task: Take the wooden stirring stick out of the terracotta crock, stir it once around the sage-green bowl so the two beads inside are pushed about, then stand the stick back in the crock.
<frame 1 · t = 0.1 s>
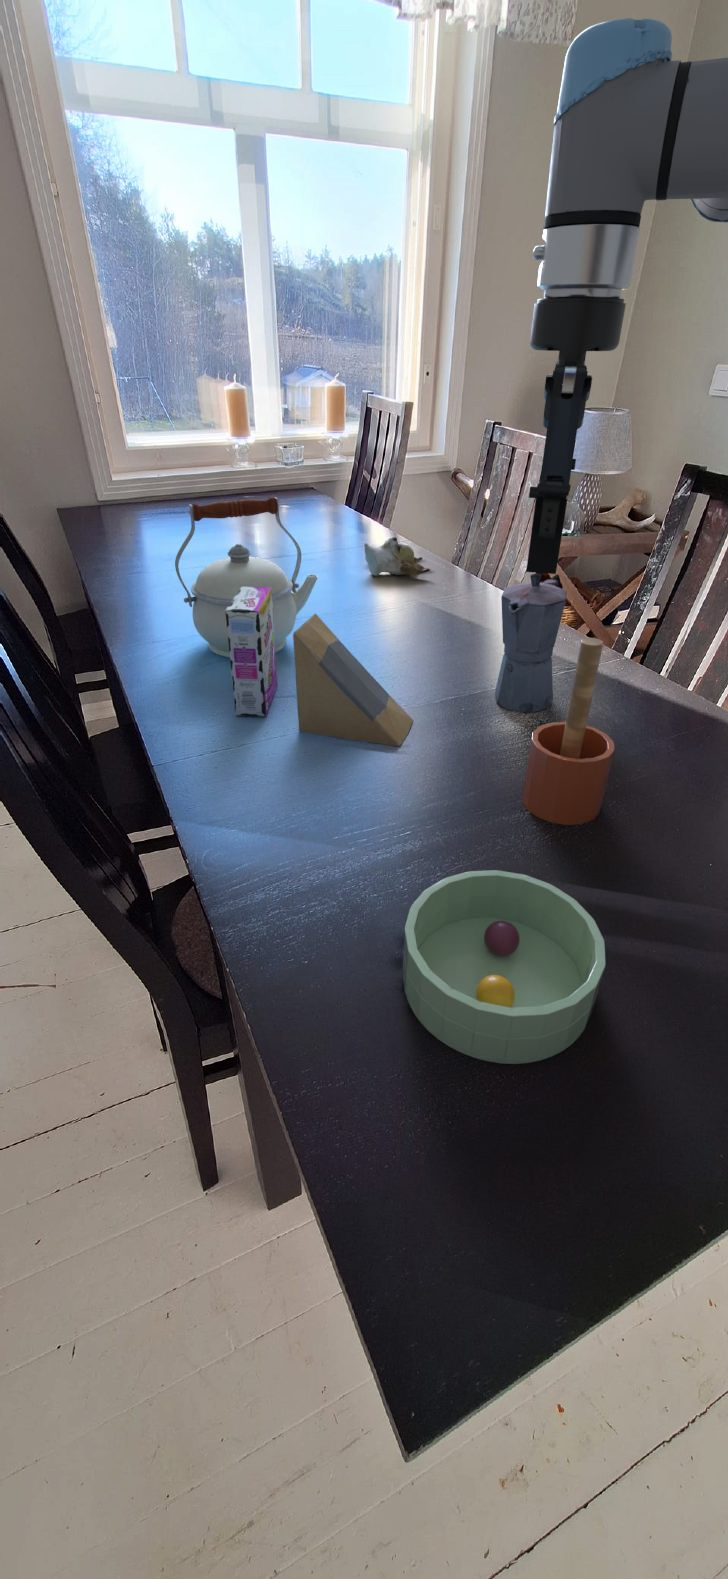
hand: (543, 553, 70), 30 cm above the table, tool pointing down, fingers open, 13 cm apart
bowl: (495, 982, 62), on the table
wooden stirring stick: (559, 807, 83), point 1 cm above the table, touching crock
ceramic sculpture: (395, 575, 163), on the table
kettle: (256, 644, 128), on the table
crock: (558, 812, 83), on the table
bead b: (501, 938, 63), point 2 cm above the table, touching bowl
moka pot: (522, 700, 109), on the table
sandwich container: (357, 727, 101), on the table
bead a: (495, 994, 58), point 2 cm above the table, touching bowl
candy bar box: (258, 702, 108), on the table
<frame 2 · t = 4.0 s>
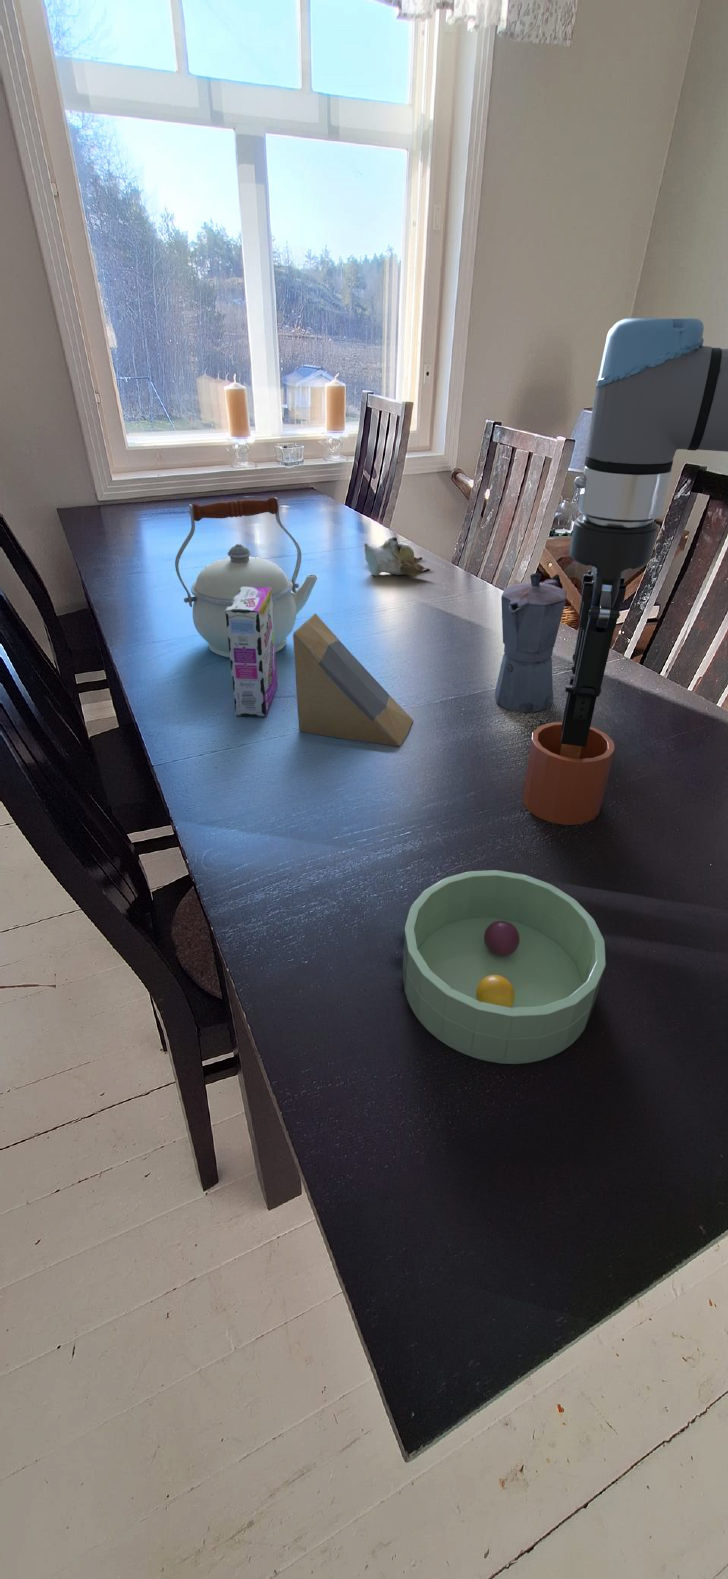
hand: (573, 737, 78), 10 cm above the table, tool pointing down, fingers closed on wooden stirring stick, 2 cm apart
wooden stirring stick: (559, 807, 83), point 1 cm above the table, touching crock, gripper
everything else where it was.
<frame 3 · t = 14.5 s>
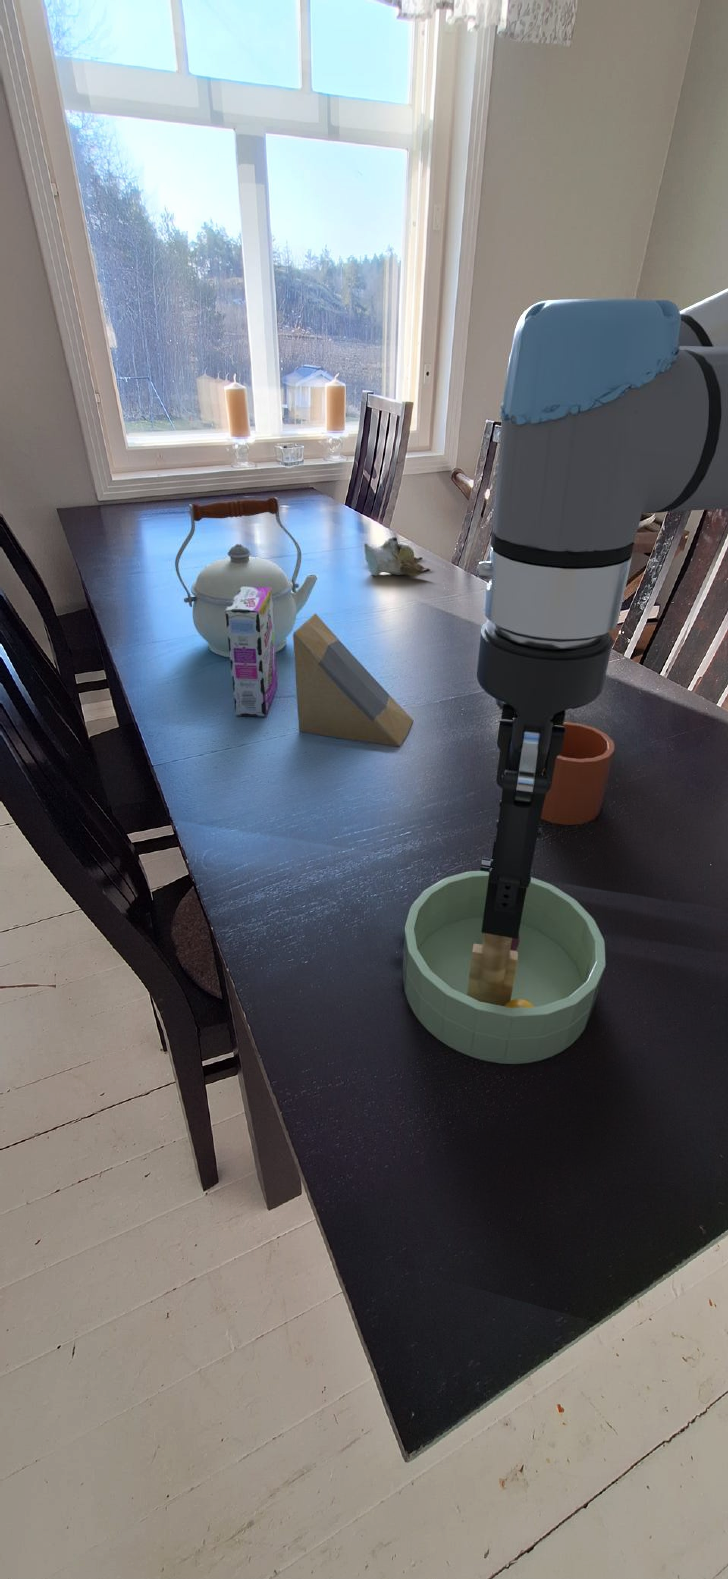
hand: (501, 918, 53), 11 cm above the table, tool pointing down, fingers closed on wooden stirring stick, 2 cm apart
wooden stirring stick: (487, 1001, 59), point 1 cm above the table, touching gripper
bead a: (519, 1019, 56), point 2 cm above the table, tilted 107°, touching bowl
everything else where it was.
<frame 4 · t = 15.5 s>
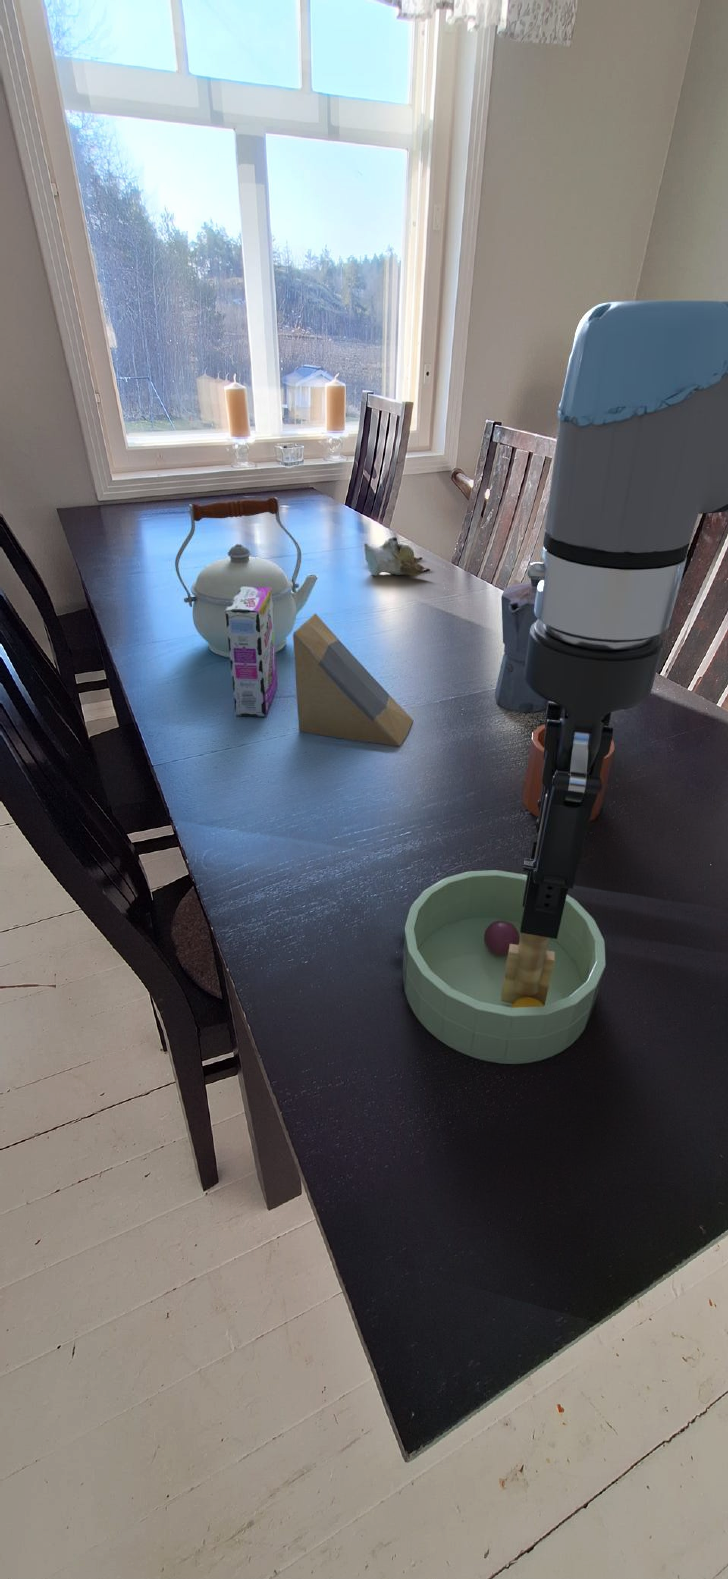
hand: (539, 918, 53), 11 cm above the table, tool pointing down, fingers closed on wooden stirring stick, 2 cm apart
wooden stirring stick: (522, 1001, 59), point 1 cm above the table, touching gripper
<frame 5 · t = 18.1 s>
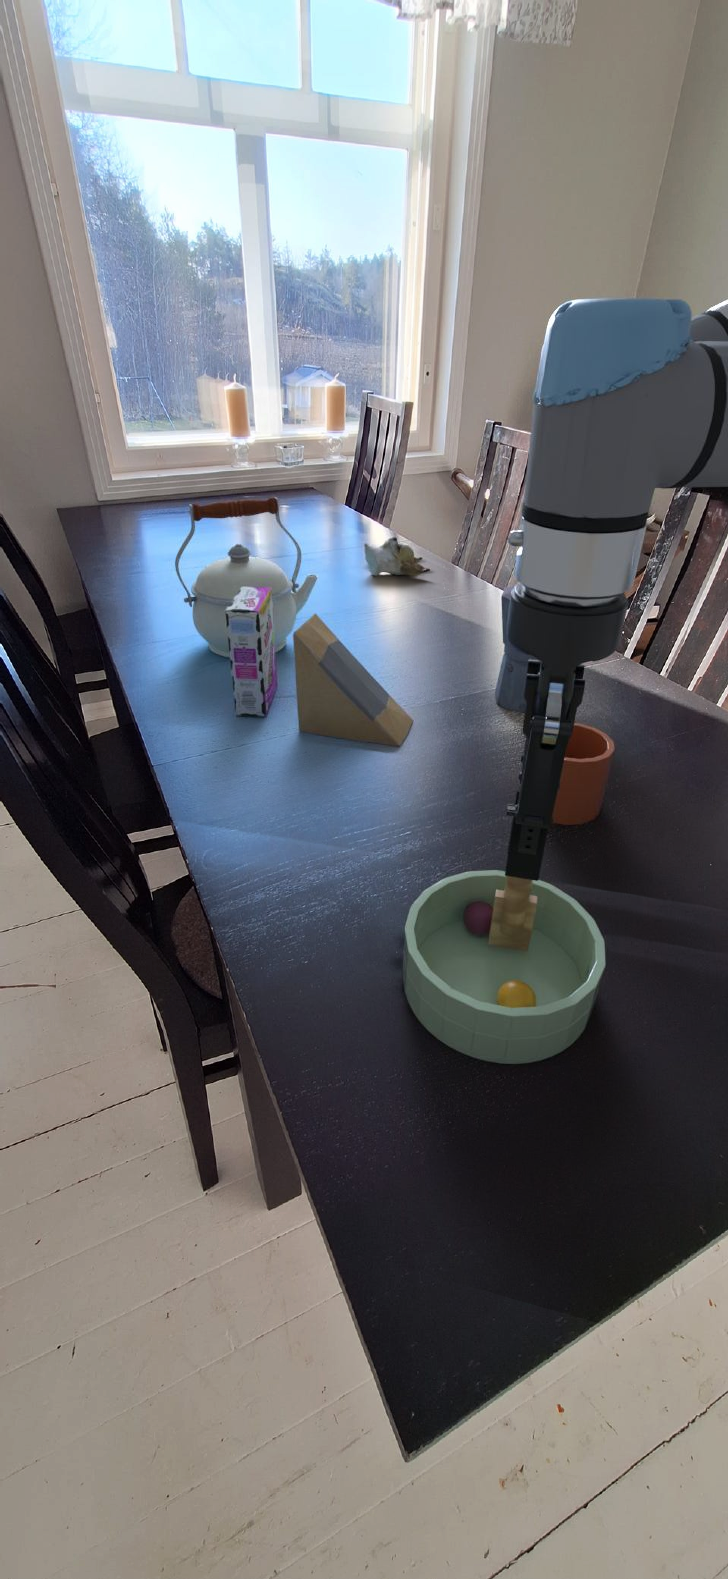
hand: (522, 864, 58), 11 cm above the table, tool pointing down, fingers closed on wooden stirring stick, 2 cm apart
wooden stirring stick: (508, 944, 64), point 1 cm above the table, touching gripper
bead b: (480, 918, 66), point 2 cm above the table, tilted 109°, touching bowl
bead a: (516, 1000, 58), point 2 cm above the table, tilted 42°, touching bowl
everything else where it was.
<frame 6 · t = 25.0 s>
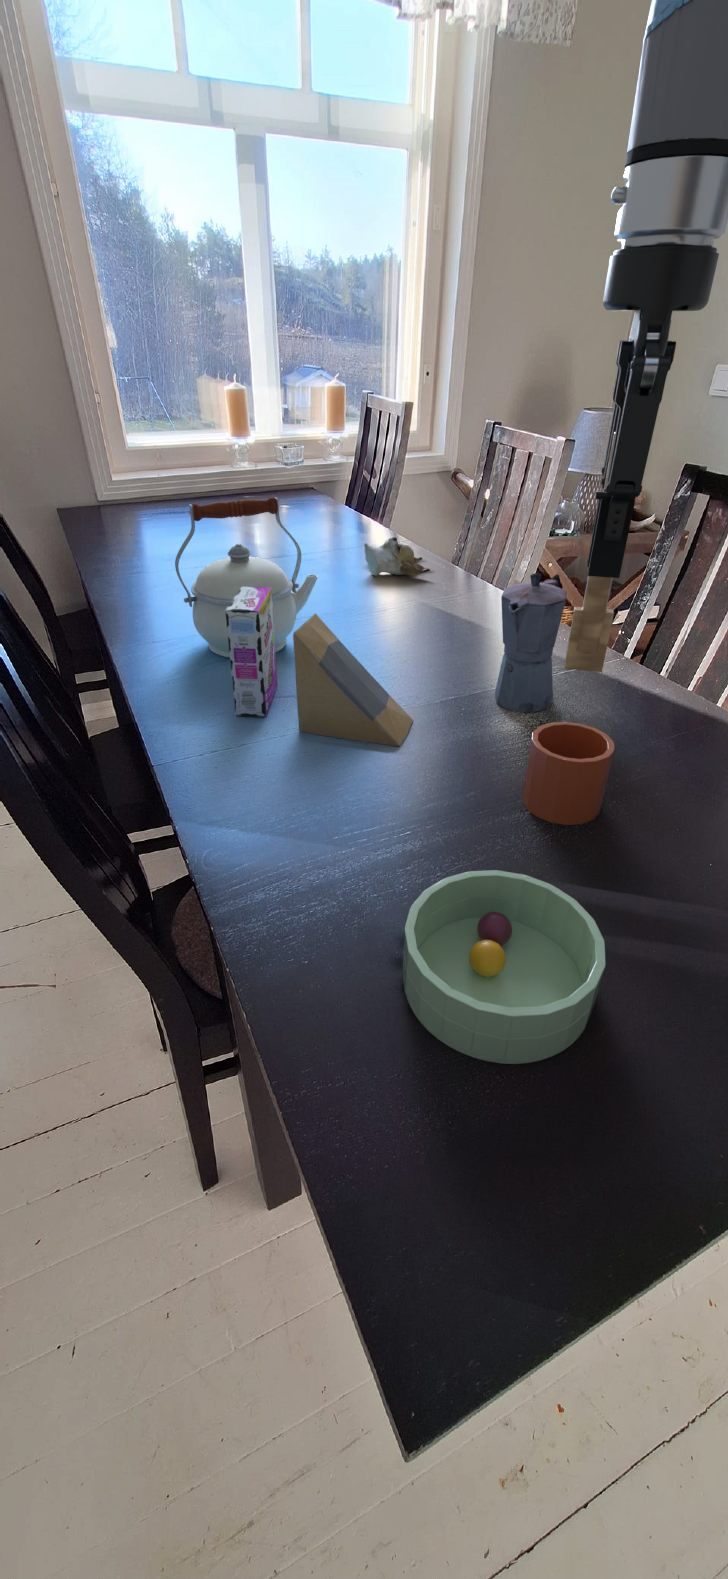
hand: (602, 570, 63), 30 cm above the table, tool pointing down, fingers closed on wooden stirring stick, 2 cm apart
wooden stirring stick: (582, 668, 69), point 21 cm above the table, touching gripper
bead b: (494, 929, 64), point 2 cm above the table, tilted 62°, touching bowl
bead a: (487, 958, 61), point 2 cm above the table, tilted 135°, touching bowl
everything else where it was.
when the fingers open (10 cm above the table, at t = 30.9 s): wooden stirring stick stays where it is, resting on crock.
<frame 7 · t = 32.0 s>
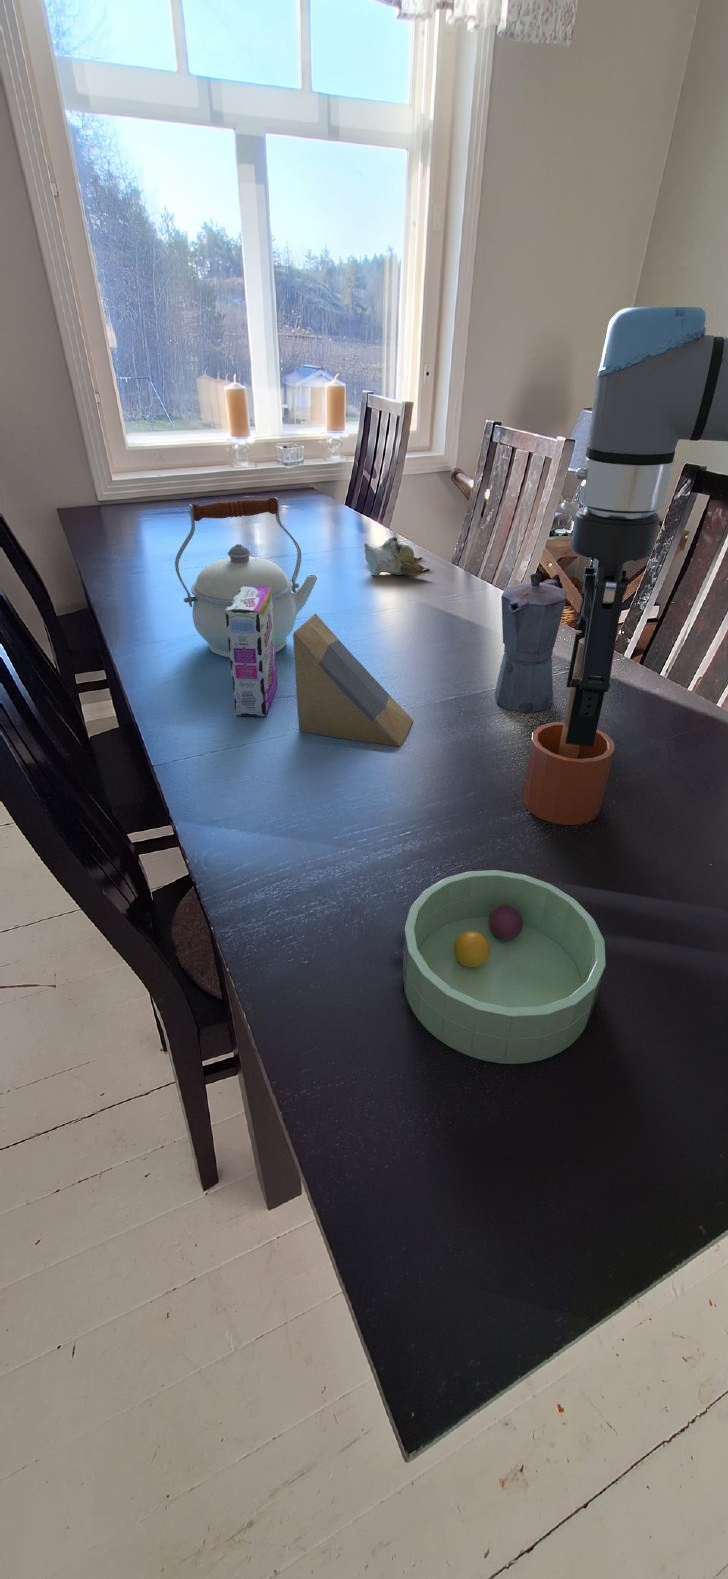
hand: (578, 713, 76), 13 cm above the table, tool pointing down, fingers open, 13 cm apart
wooden stirring stick: (557, 807, 83), point 1 cm above the table, touching crock
bead b: (505, 923, 65), point 2 cm above the table, tilted 100°, touching bowl
bead a: (471, 949, 62), point 2 cm above the table, tilted 164°, touching bowl
everything else where it was.
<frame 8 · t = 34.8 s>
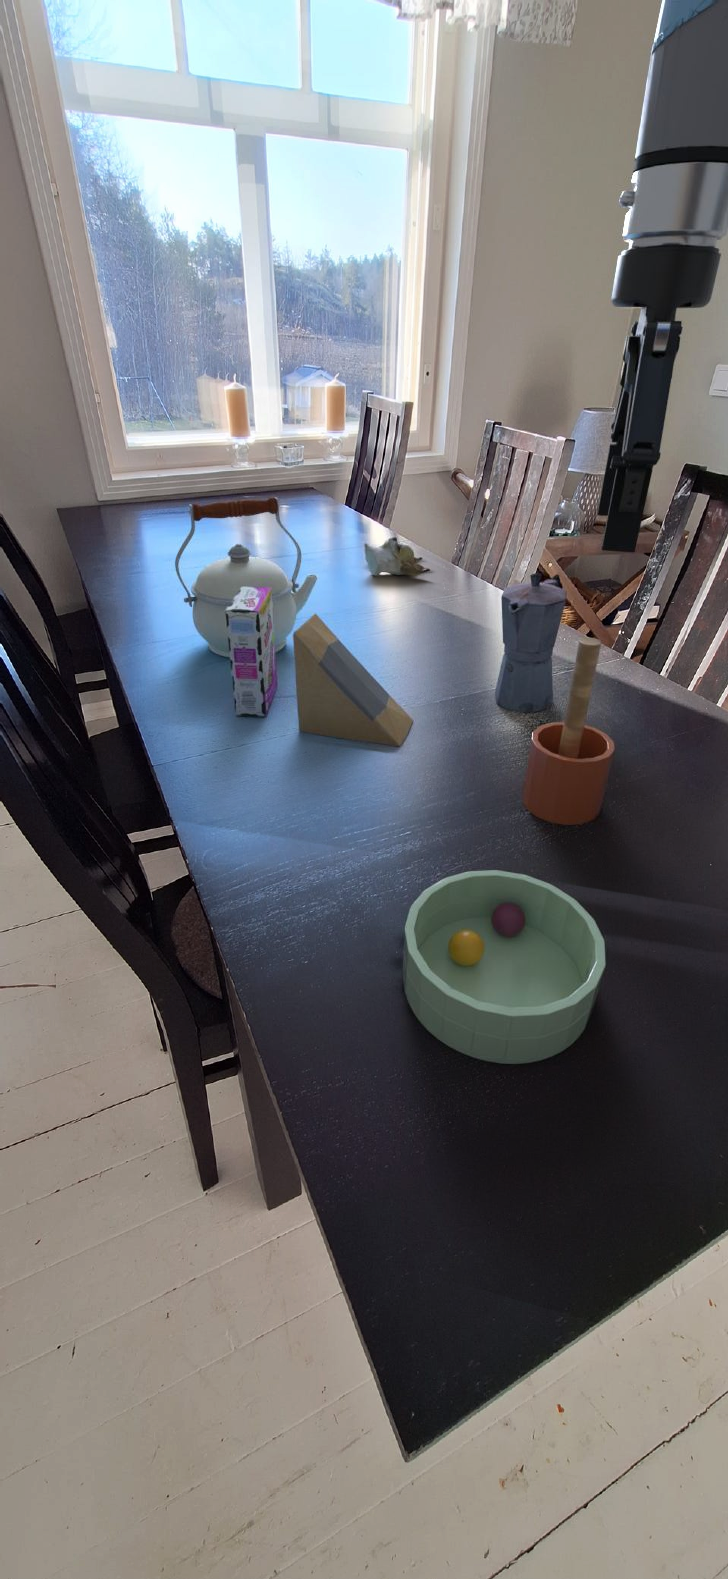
hand: (614, 531, 65), 33 cm above the table, tool pointing down, fingers open, 13 cm apart
bead b: (508, 919, 65), point 2 cm above the table, tilted 119°, touching bowl
bead a: (466, 947, 62), point 2 cm above the table, tilted 146°, touching bowl
everything else where it was.
at the end: bead a moved 5.6 cm from its start; bead a inside the target area in the bowl (3.4 cm from its centre), point 2.2 cm above the bowl's base; wooden stirring stick 0.2 cm off-centre in the crock, point 0.8 cm above the crock's base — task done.
